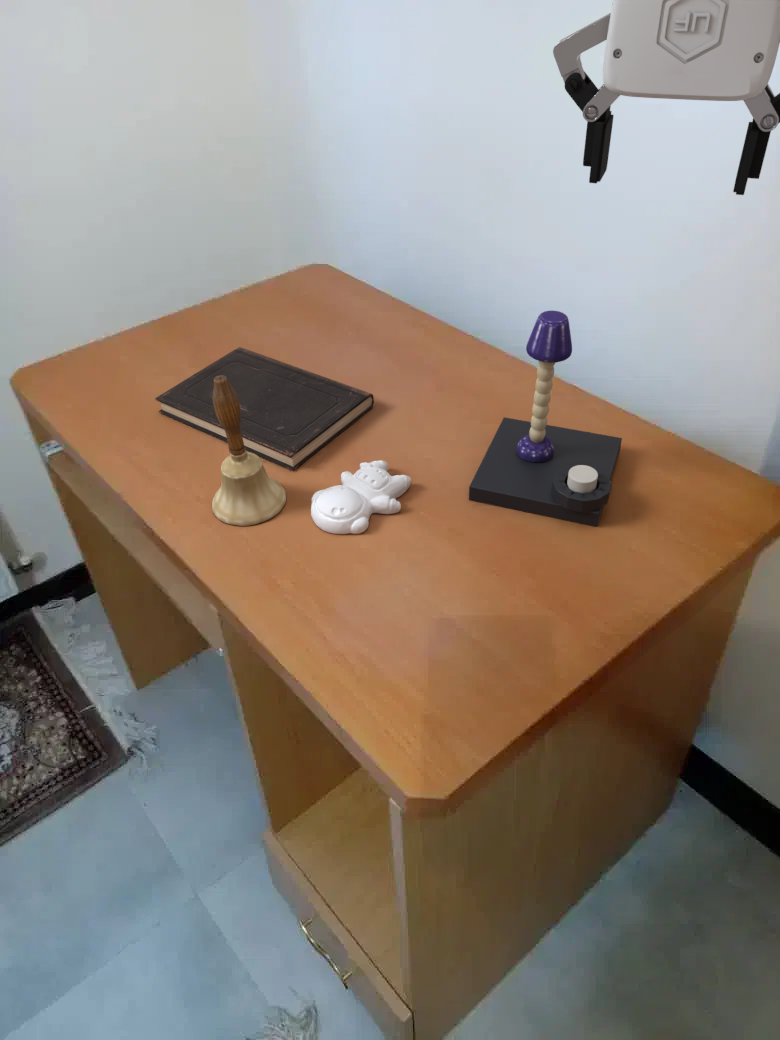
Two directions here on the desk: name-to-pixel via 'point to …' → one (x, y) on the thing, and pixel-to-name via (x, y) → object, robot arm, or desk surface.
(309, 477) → the desk surface
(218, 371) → the hardcover book
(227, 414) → the hand bell
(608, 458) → the scale
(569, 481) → the button
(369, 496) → the white flat figure
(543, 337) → the toy lamp
